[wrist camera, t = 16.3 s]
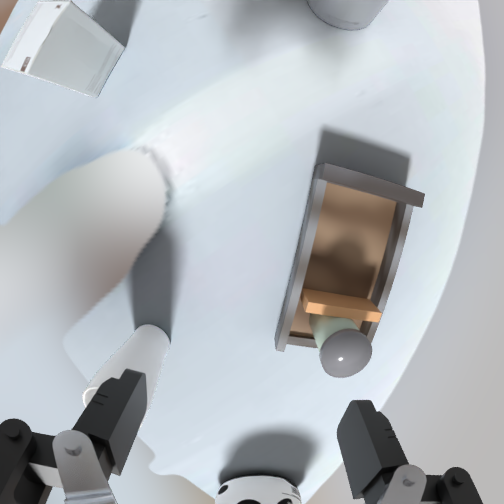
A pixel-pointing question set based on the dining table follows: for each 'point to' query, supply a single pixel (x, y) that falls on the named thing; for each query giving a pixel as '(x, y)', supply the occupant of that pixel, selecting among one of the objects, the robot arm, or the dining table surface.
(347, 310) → the plate
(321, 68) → the dining table surface
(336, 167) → the grey wooden tray
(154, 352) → the drinking glass
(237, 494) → the milk container
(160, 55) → the dining table surface
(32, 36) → the skincare box
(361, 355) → the jar
